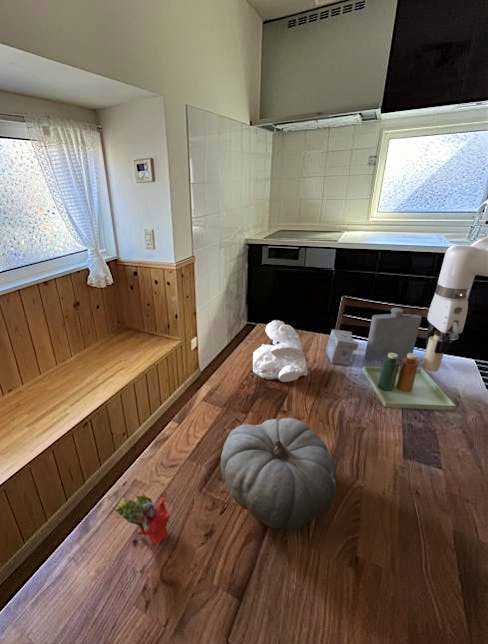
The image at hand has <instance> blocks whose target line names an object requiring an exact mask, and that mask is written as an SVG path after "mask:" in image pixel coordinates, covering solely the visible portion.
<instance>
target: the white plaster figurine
mask: <svg viewBox="0 0 488 644" xmlns="http://www.w3.org/2000/svg"><path fill="white" fill-rule="evenodd" d="M265 334H266V335H267V336H268V338H269V339H270V340H272V344H265V343H262V344H261V346H259V347H258V348H256V349H255V350H254V351H253V352H252V354H253V355H252V372H253V373H254V375H257V376H258V377H260V378H261V379H264V378H265V379H264V380H278V381H280V382H281V383H282V382H283V383H289V382H293V381H297V380H298V379H299V377H302V376H304V377H306V376H308V368H307V361H306V358H305V352H304V351H303V350H302V343H301V339H300V336H299V334H298V332H297V331H296V330H295V329H294V327H292V326H291V325H289V324H285V322H284V321H283V320H279V319H277V320H276V319H274V320H272V321H271V322H269V323H267V325H266V327H265Z"/></svg>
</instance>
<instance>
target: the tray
mask: <svg viewBox="0 0 488 644" xmlns="http://www.w3.org/2000/svg"><path fill="white" fill-rule="evenodd" d="M400 368H401V366H399V368H398V372H397V376H396V381H395V385H394V389H393V391H383V390H381V389H380V388H379V387H378V383H379V378H380V373H381V369H382V366H362V369H361V371H362V372H363V375H364V376H365V377H366V380H367V381H368V382H369V384H370V386H371V387H372V389H373V390H374V392H375V394H376V396H377V397H378V399H379V401H380V403H381V404H382V406H383V407H384V408H395V409H421V410H442V411H443V410H444V411H455V409H456V407H457V405H456V404H455V403H454V402H453V401H452V400H451V399H450V397H448V395H447V394H446V392H444V391H443V389H441V387H439V385H438V384H437V383H436V382H435V381H434V380H433V379H432V377H431V376H430V375H429V374H428V373H427V372H426V370H425V369H423V368H422V367H418V370H417V373H416V377H415V381H414V385H413V388H412V391H411V392H403V391H400V390H398V389H397V388H396V384H397V380H398V376H399V372H400Z"/></svg>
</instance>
